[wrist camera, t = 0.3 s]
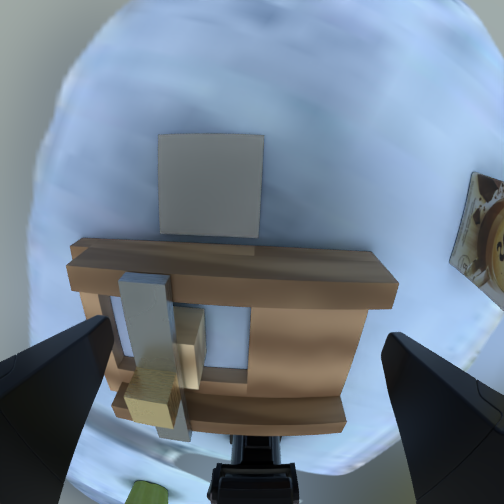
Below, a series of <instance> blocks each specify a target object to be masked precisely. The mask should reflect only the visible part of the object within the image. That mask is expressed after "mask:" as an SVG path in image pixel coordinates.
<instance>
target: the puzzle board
mask: <svg viewBox="0 0 504 504" xmlns="http://www.w3.org/2000/svg"><path fill="white" fill-rule="evenodd" d="M70 249H71V255H72V261H71V262H70V263H68V264H67V265H66V268H67V273H68V277H69V282H70V286H71V290H72V291H77V292H79V293H80V297H81V301H82V305H83V309H84V312H85V316H86V320H87V319H90V318H92V317H94V316H96V315H103V316H108V317H109V318H110V320H111V325H112V329H113V333H114V345H113V348H112V351H111V354H110V357H109V361H108V364H107V367H106V370H105V374H104V375H105V377H106V380H107V382H108V385H109V387H110V390H112V391H116V392H117V394H116V396H115V398H114V401H113V403H112V405H111V406H112V408H113V411H114V413H115V415H116V417H118V418H122V419H127V420H131V421H133V419H132V416H131V414H130V412H129V409H128V407H127V404H126V402H125V399H124V394H125V392H126V390H127V387H128V385H129V383H130V381H131V378H132V376H133V374H134V372H135V369H136V367H137V366H136V363H135V359H134V358H133V357H127V356H124V354H123V350H122V347H121V343H120V339H119V335H118V331H117V327H116V323H115V318H114V314H113V310H112V305H111V300H110V296H117V297H121V296H120V290H119V284H118V280H119V279H120V278H121V277H122V276H123V274H124V273H125V272H130V273H143V274H157V275H170V279H171V290H172V301H173V302H178V303H190V304H204V305H219V306H236V307H251V319H250V337H249V355H248V369H230V368H216V367H204V366H203V371H202V376H201V380H200V385H199V390H198V389H189V388H184V392H185V397H186V403H187V409H188V414H189V419H190V425H191V430H192V431H197V432H206V433H217V434H230V435H250V436H299V435H318V434H331V433H341V432H342V430H343V428H344V426H345V424H346V422H347V421H346V417H345V413H344V409H343V405H342V402H341V398H340V394H341V392H342V389H343V386H344V384H345V381H346V378H347V376H348V373H349V370H350V367H351V364H352V361H353V358H354V355H355V352H356V349H357V346H358V343H359V340H360V337H361V333H362V330H363V327H364V323H365V320H366V317H367V313H368V309H392V306H393V303H394V300H395V296H396V293H397V289H398V286H399V282H398V281H397V280H396V279H395V278H394V277H393V275H392V274H391V273H390V272H389V271H388V270H387V269H386V267H385V266H384V265H383V264H382V263H381V262H380V261H379V260H378V258H377V257H376V256H375V255H374V254H373V253H372V252H367V251H349V250H331V249H312V248H293V247H273V246H253V245H233V244H211V243H190V242H168V241H145V240H121V239H97V238H81V239H80V240H78V241H77V242H75V243H74V244H72V245H71V246H70Z"/></svg>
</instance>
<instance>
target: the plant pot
mask: <svg viewBox="0 0 504 504" xmlns="http://www.w3.org/2000/svg"><path fill="white" fill-rule="evenodd" d="M125 504H168V491H167V490H166V489H165V488H164V487H161V486H160V485H157V484H150V483H148V482H146V481H136V482H135V483H134V485H133V487H132V489H131V491H130V494H129V496H128V498H127V500H126V502H125Z"/></svg>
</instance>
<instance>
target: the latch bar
mask: <svg viewBox="0 0 504 504" xmlns="http://www.w3.org/2000/svg"><path fill="white" fill-rule="evenodd" d="M118 284H119V290H120V296H121V301H122V306H123V311H124V316H125V321H126V326H127V330H128V334H129V339H130V343H131V347H132V351H133V355H134V359H135V363H136V366H137V367H136V369H135V372H134V374H133V376H132V378H131V381H130V383H129V385H128V387H127V390H126V392H125V394H124V399H125V402H126V404H127V407H128V409H129V412H130V414H131V416H132V419H133V421H134V422H137V423H142V424H147V425H152V426H155V427H156V429H157V432H158V435H159V438H165V439H171V440H178V441H184V442H190V441H191V436H192V430H191V425H190V419H189V414H188V409H187V403H186V397H185V392H184V386H183V379H182V373H181V366H180V359H179V352H178V345H177V337H176V329H175V320H174V311H173V301H172V290H171V279H170V275H157V274H143V273H130V272H125V273H124V274H123V276H122V277H121V278H120V279H119V280H118Z"/></svg>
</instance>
